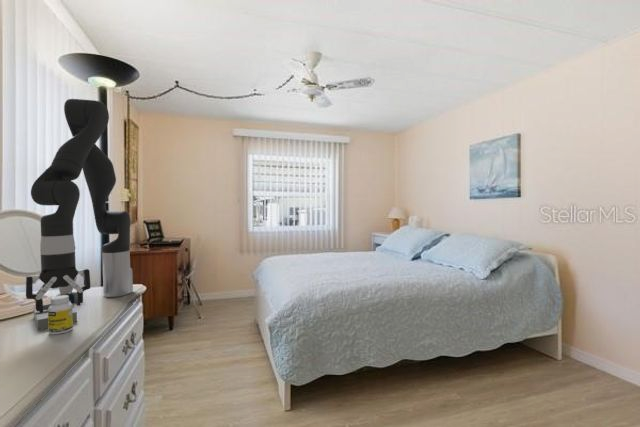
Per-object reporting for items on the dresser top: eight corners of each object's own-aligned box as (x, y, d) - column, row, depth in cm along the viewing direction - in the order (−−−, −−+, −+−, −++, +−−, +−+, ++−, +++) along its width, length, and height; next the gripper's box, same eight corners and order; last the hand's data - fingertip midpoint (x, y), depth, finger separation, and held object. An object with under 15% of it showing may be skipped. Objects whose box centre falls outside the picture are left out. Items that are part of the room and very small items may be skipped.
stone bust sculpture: (79, 298, 122) (78, 269, 121) (72, 304, 114) (71, 274, 114) (61, 300, 119) (60, 271, 119) (53, 306, 112) (52, 275, 112)
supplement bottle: (44, 336, 87) (43, 300, 87) (54, 328, 92) (53, 295, 92) (67, 333, 89) (66, 298, 88) (76, 326, 94) (75, 293, 94)
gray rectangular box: (32, 312, 106) (32, 301, 106) (66, 306, 112) (66, 295, 112) (37, 330, 91) (37, 317, 91) (77, 321, 98) (76, 309, 97)
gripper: (86, 247, 97) (88, 300, 98) (22, 252, 87) (25, 311, 88) (91, 249, 92) (93, 305, 93) (24, 256, 82) (26, 318, 82)
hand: (60, 308), depth 90 cm, fingers open, 8 cm apart
